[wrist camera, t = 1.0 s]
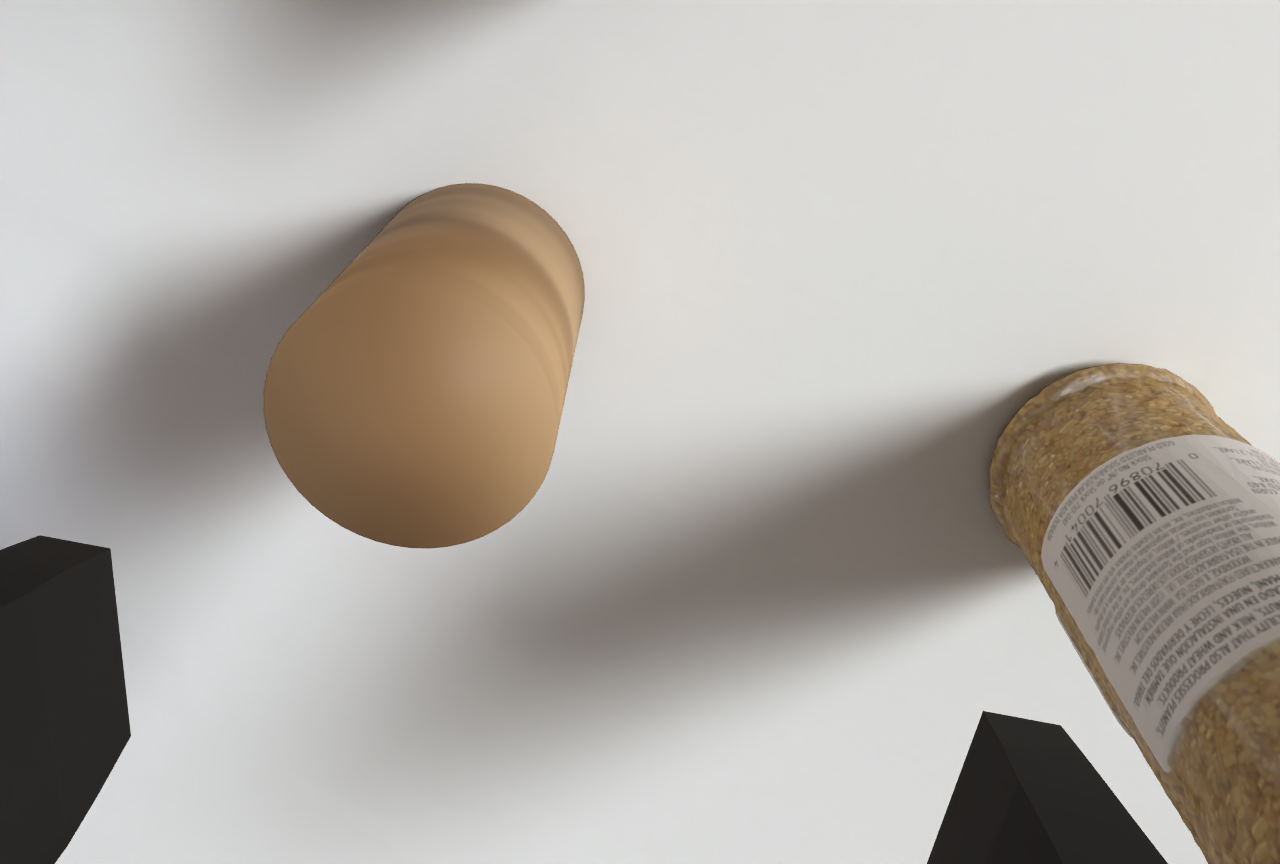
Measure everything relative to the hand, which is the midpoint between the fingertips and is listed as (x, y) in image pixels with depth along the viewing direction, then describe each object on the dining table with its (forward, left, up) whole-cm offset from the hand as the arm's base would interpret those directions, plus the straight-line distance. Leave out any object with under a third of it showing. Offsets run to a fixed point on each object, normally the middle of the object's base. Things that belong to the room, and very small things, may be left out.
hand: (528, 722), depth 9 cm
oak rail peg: (-2, 0, -12) cm, 13 cm away
